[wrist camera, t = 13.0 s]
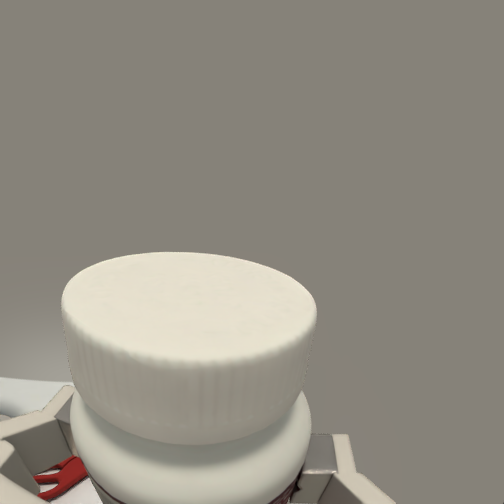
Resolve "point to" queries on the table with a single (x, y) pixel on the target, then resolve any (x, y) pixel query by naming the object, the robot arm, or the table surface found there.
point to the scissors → (63, 476)
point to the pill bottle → (189, 378)
